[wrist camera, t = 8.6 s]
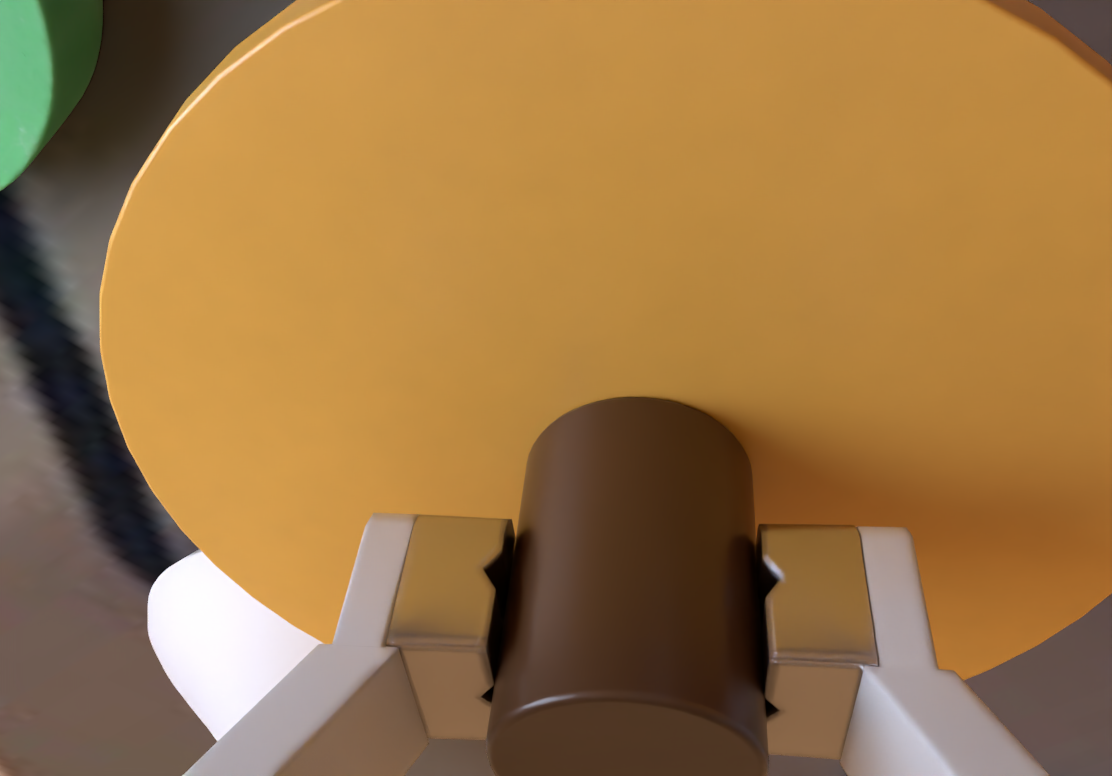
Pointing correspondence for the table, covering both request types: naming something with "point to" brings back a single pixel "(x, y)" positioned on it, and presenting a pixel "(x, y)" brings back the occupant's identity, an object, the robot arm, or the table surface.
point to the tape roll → (42, 72)
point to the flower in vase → (219, 641)
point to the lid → (634, 328)
